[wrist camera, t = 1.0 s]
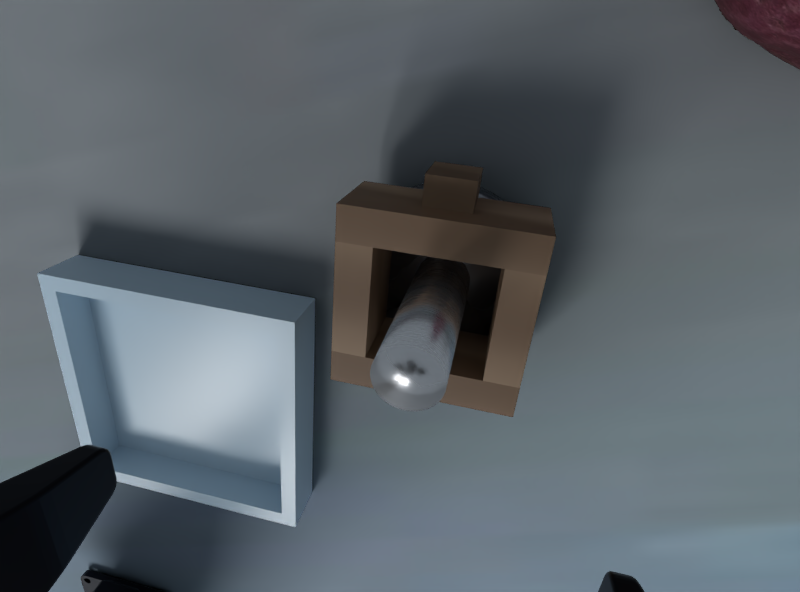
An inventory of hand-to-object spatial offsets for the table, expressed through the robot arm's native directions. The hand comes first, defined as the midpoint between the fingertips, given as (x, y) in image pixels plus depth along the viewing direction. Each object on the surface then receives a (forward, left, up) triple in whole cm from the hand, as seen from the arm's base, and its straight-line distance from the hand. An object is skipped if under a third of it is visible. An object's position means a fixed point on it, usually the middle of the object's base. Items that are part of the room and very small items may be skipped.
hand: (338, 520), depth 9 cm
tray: (-8, +11, -12) cm, 18 cm away
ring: (0, 0, -11) cm, 11 cm away
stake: (0, 0, -12) cm, 12 cm away
